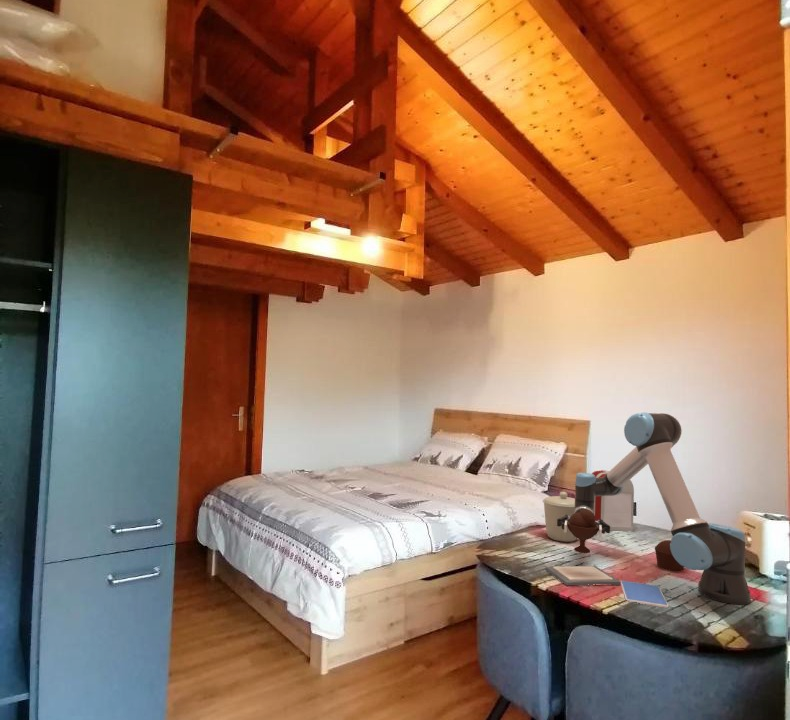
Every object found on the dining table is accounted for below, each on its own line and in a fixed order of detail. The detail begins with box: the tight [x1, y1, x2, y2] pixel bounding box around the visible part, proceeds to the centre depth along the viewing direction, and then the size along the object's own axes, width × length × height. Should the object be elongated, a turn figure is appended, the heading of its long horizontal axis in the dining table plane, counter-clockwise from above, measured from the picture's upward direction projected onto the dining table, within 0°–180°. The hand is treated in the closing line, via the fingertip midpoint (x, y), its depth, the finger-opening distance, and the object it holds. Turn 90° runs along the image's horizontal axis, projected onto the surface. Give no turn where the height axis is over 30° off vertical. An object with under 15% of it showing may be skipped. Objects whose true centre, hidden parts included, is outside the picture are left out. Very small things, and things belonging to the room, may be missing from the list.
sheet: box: [552, 565, 613, 581], centre depth 193 cm, size 13×16×1 cm
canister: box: [542, 491, 578, 543], centre depth 244 cm, size 18×18×21 cm
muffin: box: [654, 539, 685, 572], centre depth 209 cm, size 12×11×10 cm
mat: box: [545, 565, 621, 586], centre depth 193 cm, size 16×20×1 cm
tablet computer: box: [619, 580, 670, 608], centre depth 180 cm, size 19×13×1 cm, turn 163°
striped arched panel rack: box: [591, 469, 635, 532], centre depth 271 cm, size 16×18×27 cm
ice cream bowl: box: [567, 509, 599, 554], centre depth 194 cm, size 11×11×15 cm
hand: (582, 531), depth 190 cm, fingers closed on ice cream bowl, 11 cm apart
